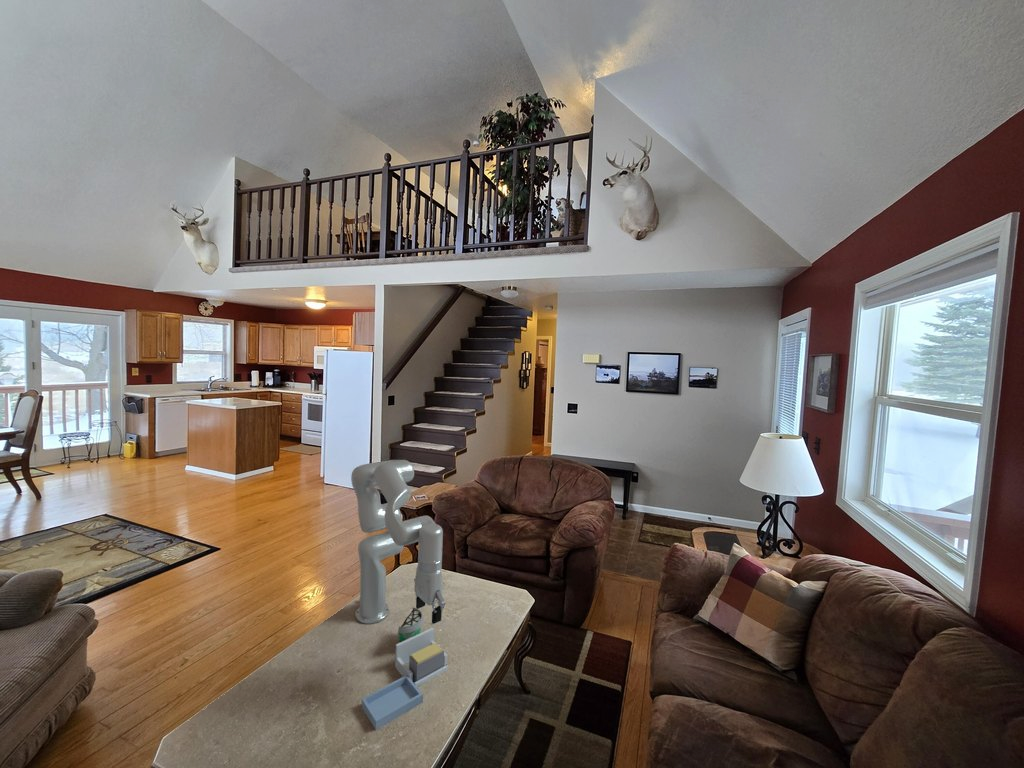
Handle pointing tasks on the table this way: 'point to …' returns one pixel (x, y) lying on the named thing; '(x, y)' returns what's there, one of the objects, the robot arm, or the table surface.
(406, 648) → the bay
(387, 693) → the tray
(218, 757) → the table surface
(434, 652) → the yellow-topped block
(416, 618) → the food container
